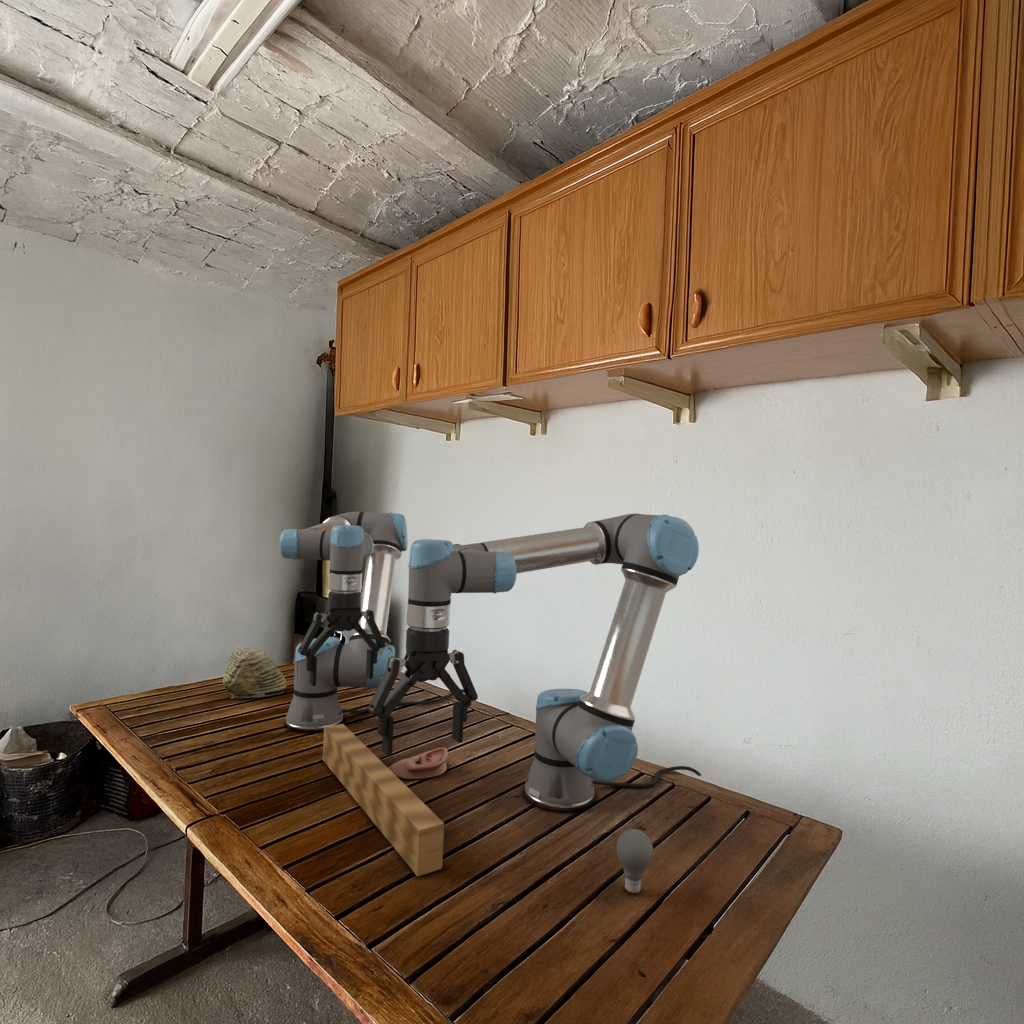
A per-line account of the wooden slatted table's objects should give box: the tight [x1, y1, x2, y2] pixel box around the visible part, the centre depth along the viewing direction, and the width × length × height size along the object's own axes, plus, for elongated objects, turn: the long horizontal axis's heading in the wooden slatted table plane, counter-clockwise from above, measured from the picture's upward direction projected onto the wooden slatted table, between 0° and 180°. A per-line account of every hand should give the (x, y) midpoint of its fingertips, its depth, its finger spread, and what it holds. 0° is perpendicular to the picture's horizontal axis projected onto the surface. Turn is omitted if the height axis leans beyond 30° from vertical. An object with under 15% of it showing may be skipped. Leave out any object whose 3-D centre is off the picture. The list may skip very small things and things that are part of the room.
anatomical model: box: [387, 747, 449, 780], centre depth 149 cm, size 13×4×12 cm
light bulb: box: [615, 828, 654, 894], centre depth 106 cm, size 6×6×10 cm
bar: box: [322, 723, 445, 877], centre depth 131 cm, size 54×5×8 cm, turn 33°
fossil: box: [222, 646, 288, 699], centre depth 198 cm, size 9×18×15 cm, turn 132°
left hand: (341, 681), depth 149 cm, fingers open, 13 cm apart
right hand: (423, 747), depth 112 cm, fingers open, 13 cm apart
